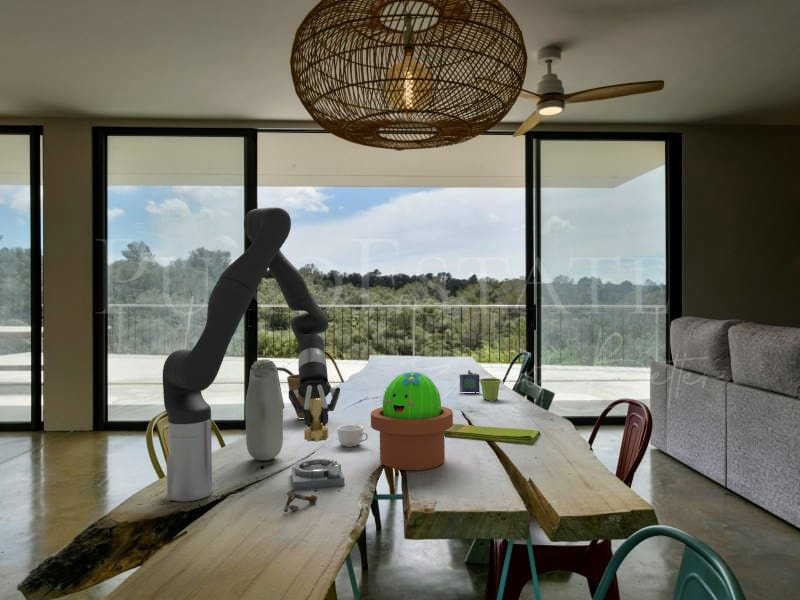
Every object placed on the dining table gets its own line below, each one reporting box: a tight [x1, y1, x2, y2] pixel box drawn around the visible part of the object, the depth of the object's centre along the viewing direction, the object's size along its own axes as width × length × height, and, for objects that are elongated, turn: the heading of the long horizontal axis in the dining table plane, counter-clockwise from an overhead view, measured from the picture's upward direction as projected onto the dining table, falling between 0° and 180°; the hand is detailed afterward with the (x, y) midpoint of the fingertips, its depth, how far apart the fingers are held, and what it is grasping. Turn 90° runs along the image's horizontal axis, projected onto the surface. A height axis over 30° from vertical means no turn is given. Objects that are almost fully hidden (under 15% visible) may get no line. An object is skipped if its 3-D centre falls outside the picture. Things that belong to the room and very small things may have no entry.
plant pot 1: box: [286, 373, 305, 418], centre depth 205 cm, size 15×15×16 cm
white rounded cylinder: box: [244, 358, 284, 462], centre depth 152 cm, size 10×10×28 cm
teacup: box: [337, 424, 369, 448], centre depth 165 cm, size 10×8×5 cm
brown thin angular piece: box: [283, 489, 319, 513], centre depth 116 cm, size 2×8×4 cm, turn 139°
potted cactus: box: [370, 370, 454, 471], centre depth 149 cm, size 22×22×25 cm
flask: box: [459, 369, 481, 393], centre depth 254 cm, size 9×3×11 cm, turn 84°
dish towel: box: [444, 423, 541, 445], centre depth 178 cm, size 15×36×3 cm, turn 66°
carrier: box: [291, 458, 345, 491], centre depth 135 cm, size 12×13×6 cm
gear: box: [303, 398, 329, 442], centre depth 136 cm, size 6×6×10 cm
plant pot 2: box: [479, 377, 502, 401], centre depth 237 cm, size 9×9×9 cm
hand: (316, 424), depth 134 cm, fingers closed on gear, 3 cm apart
